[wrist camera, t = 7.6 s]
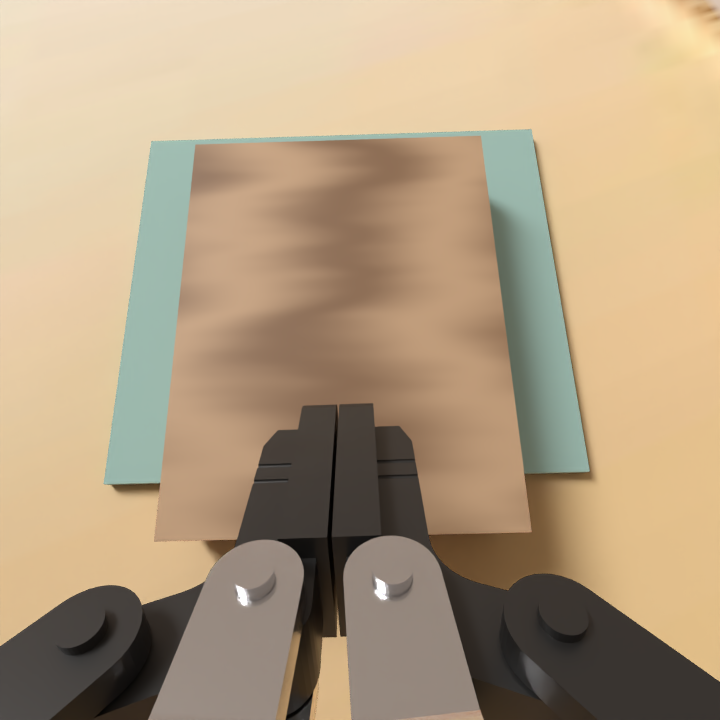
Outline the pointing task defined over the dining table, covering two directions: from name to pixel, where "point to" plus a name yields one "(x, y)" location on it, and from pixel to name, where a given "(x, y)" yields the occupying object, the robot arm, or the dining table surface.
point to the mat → (517, 282)
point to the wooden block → (341, 324)
